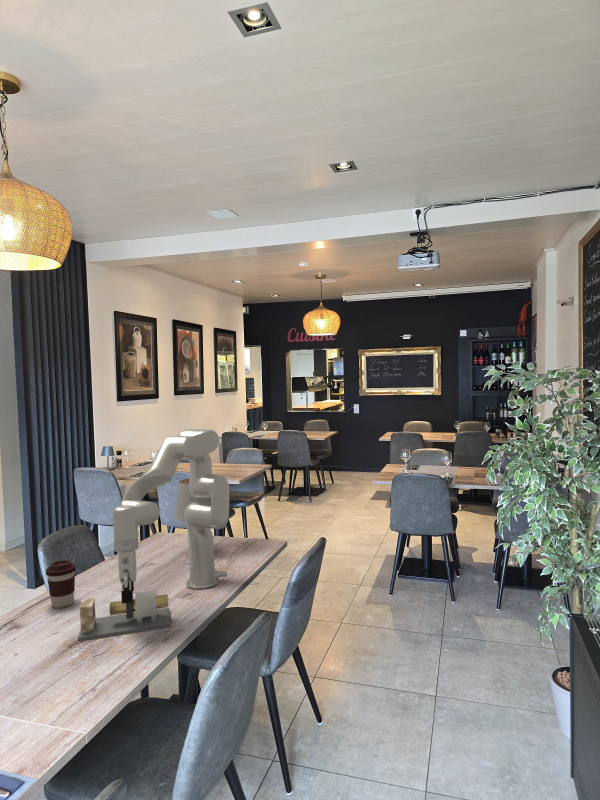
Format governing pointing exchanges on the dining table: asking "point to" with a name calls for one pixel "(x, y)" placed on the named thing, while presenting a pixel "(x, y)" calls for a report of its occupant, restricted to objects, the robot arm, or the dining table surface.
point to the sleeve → (146, 606)
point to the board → (125, 625)
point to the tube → (130, 607)
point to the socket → (87, 615)
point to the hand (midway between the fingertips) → (127, 597)
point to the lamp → (185, 499)
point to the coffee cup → (61, 583)
